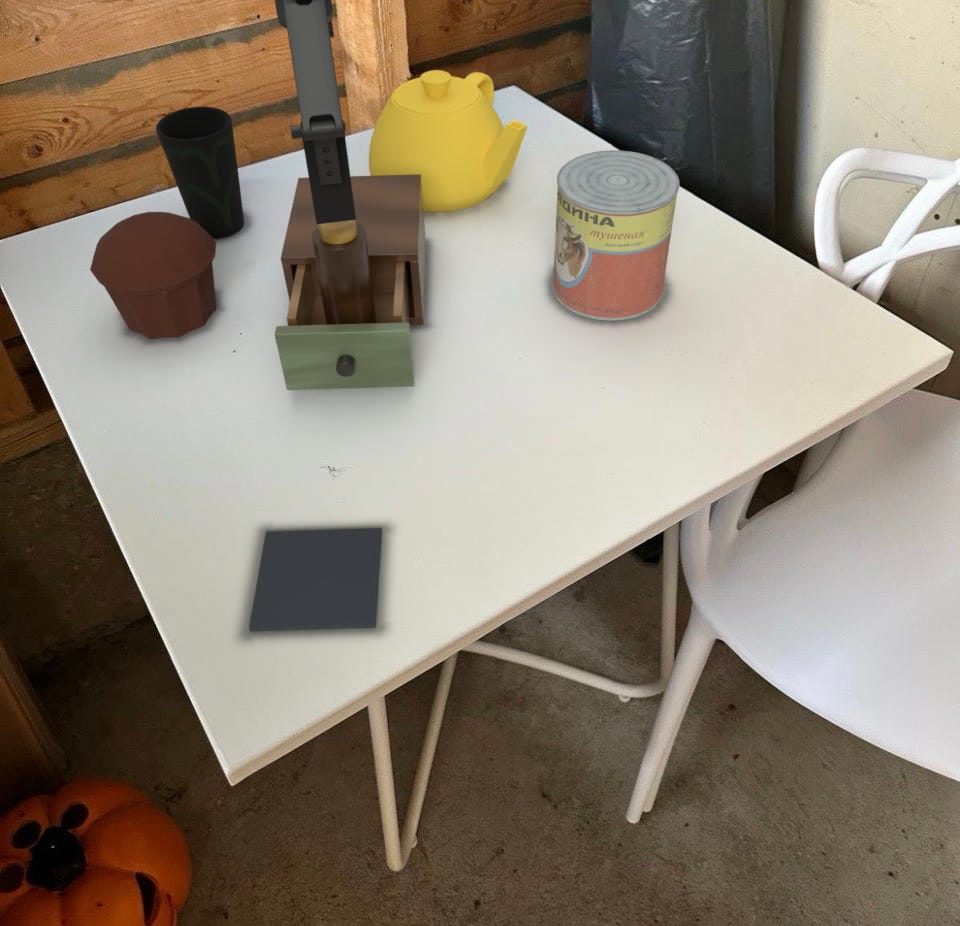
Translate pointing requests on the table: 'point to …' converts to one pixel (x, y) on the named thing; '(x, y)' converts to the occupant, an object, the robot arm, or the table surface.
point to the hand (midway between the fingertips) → (328, 171)
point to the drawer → (348, 336)
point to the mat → (317, 580)
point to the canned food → (613, 233)
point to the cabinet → (369, 229)
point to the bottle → (344, 273)
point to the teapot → (446, 139)
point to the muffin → (158, 273)
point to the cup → (204, 167)
